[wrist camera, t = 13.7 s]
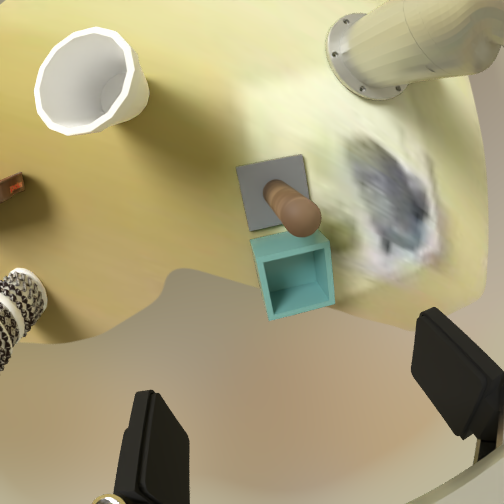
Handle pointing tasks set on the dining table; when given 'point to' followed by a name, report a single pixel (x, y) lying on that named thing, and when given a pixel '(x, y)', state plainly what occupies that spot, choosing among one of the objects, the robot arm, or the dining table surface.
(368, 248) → the dining table surface
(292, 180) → the coaster
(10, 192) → the tin
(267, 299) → the teal open box
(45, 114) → the foam cup
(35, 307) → the decorative candle
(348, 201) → the dining table surface
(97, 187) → the dining table surface
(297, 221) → the dowel
